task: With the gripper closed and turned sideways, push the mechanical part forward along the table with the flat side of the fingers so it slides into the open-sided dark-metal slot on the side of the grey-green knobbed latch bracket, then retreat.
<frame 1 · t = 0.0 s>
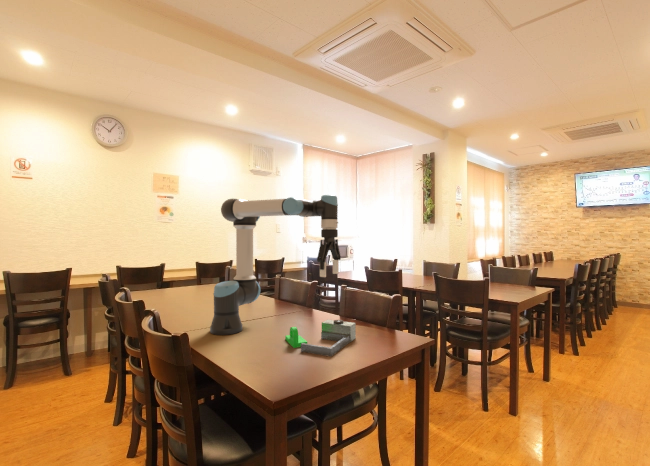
hand: (329, 275, 156), 28 cm above the table, fingers open, 13 cm apart
knobbed latch bracket: (326, 346, 142), on the table
mechanical part: (296, 343, 147), on the table
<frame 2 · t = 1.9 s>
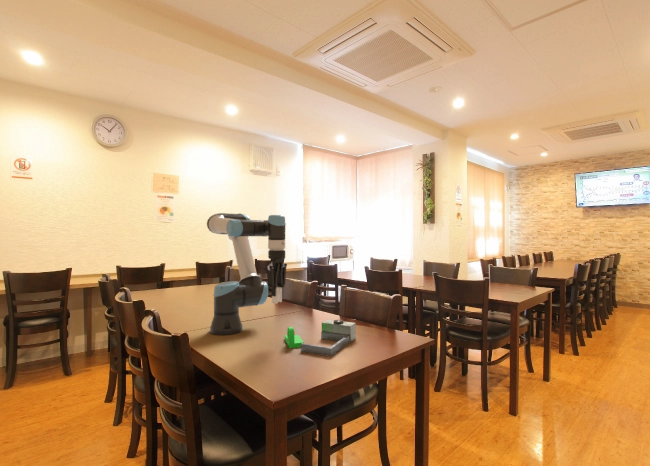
hand: (276, 302, 151), 17 cm above the table, fingers open, 3 cm apart
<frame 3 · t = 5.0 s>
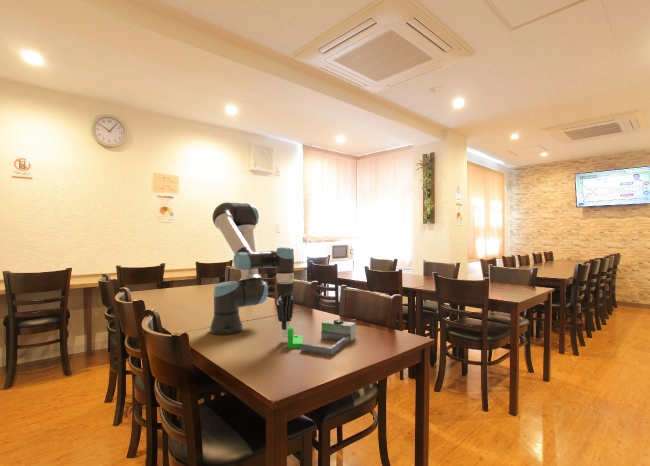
hand: (285, 336, 149), 2 cm above the table, fingers closed
mechanical part: (295, 344, 146), on the table
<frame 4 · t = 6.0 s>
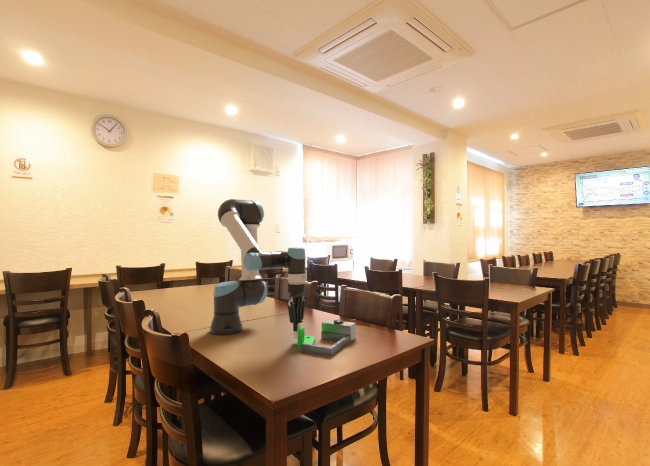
hand: (296, 337, 147), 2 cm above the table, fingers closed
mechanical part: (307, 345, 145), on the table
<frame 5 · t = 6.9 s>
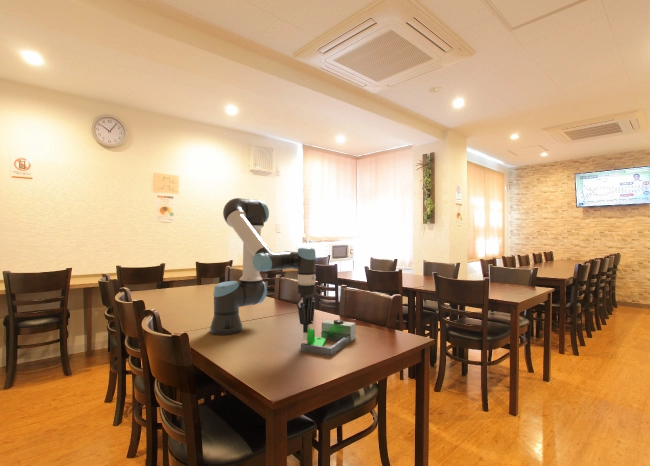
hand: (306, 339, 145), 2 cm above the table, fingers closed
mechanical part: (317, 346, 143), on the table, touching gripper
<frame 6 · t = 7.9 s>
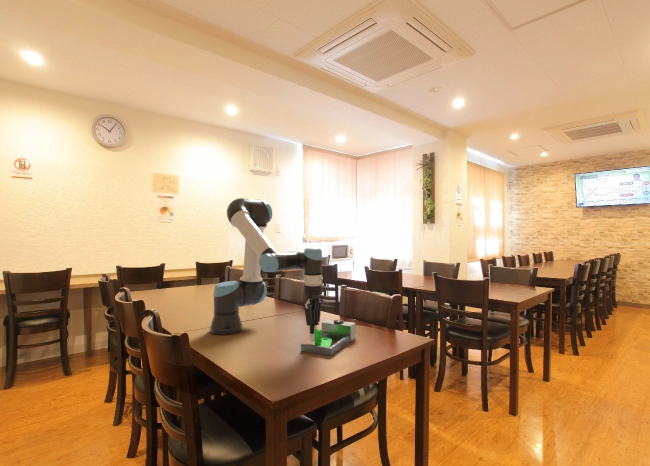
hand: (313, 340, 143), 2 cm above the table, fingers closed
mechanical part: (324, 347, 142), on the table, touching gripper
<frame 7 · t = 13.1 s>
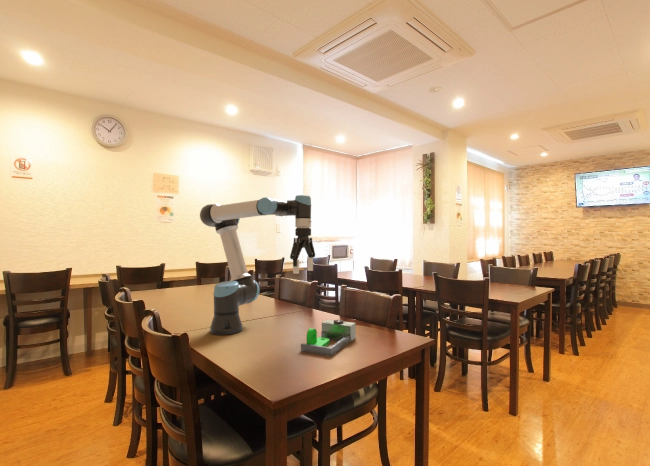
hand: (303, 272, 163), 29 cm above the table, fingers open, 13 cm apart
mechanical part: (319, 346, 143), on the table
at the end: mechanical part inside the target area on the knobbed latch bracket (2.6 cm from its centre), point -0.5 cm above the knobbed latch bracket's base; mechanical part moved 10.8 cm from its start; the gripper is holding nothing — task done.
